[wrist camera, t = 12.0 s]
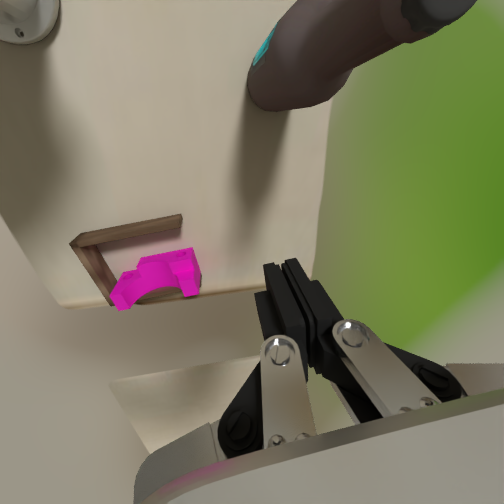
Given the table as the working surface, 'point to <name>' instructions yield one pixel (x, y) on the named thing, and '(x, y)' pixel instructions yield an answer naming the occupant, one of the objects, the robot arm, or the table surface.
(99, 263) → the walnut bay
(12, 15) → the robot arm
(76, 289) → the table surface
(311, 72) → the beer bottle
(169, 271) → the magenta curved block
